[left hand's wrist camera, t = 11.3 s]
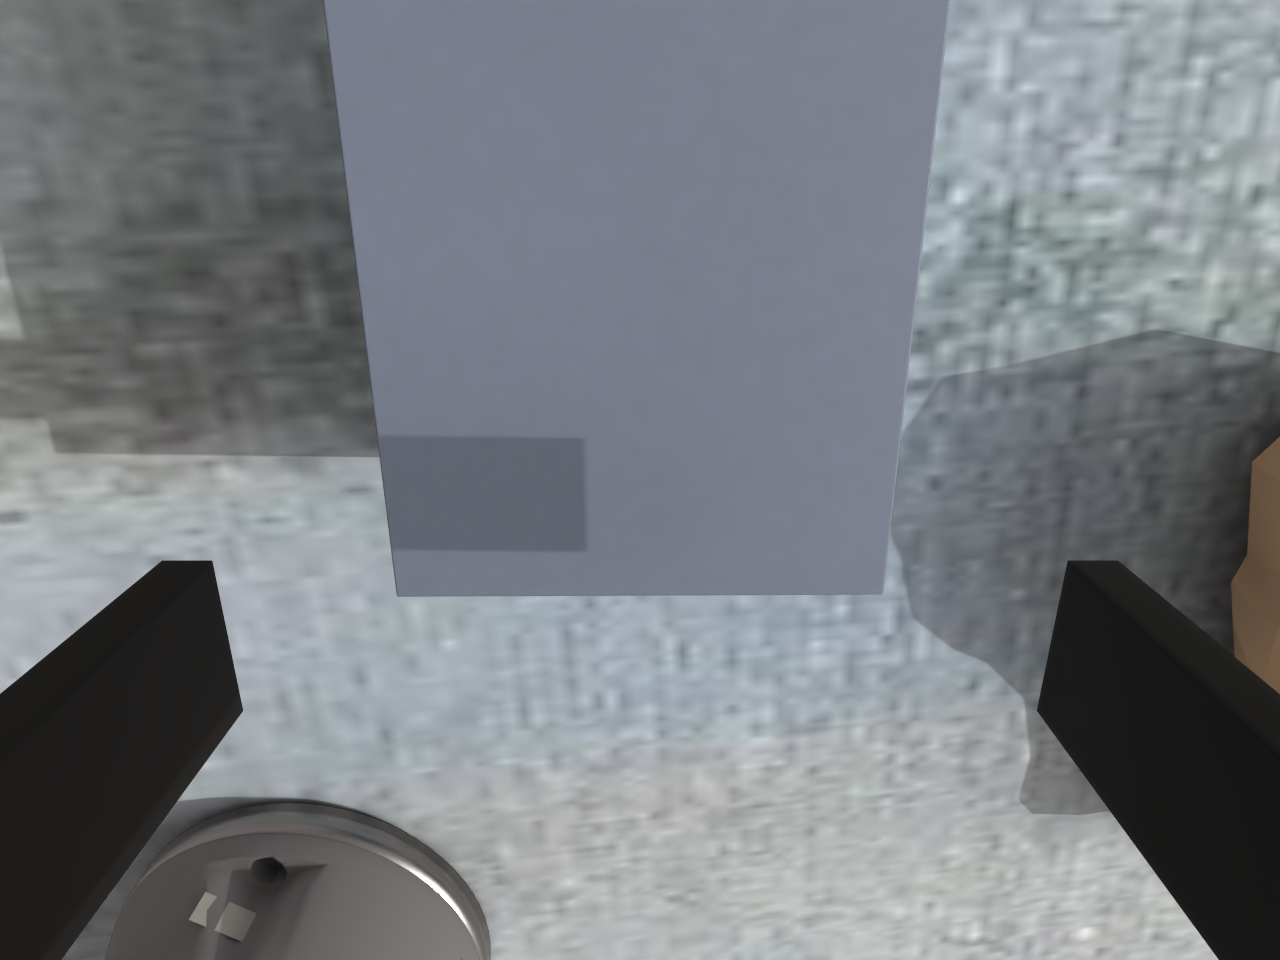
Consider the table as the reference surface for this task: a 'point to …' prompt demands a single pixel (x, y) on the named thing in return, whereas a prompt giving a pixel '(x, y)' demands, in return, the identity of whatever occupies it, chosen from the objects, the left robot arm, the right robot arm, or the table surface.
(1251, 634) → the squash
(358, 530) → the table surface
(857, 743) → the table surface
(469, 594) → the cabinet
